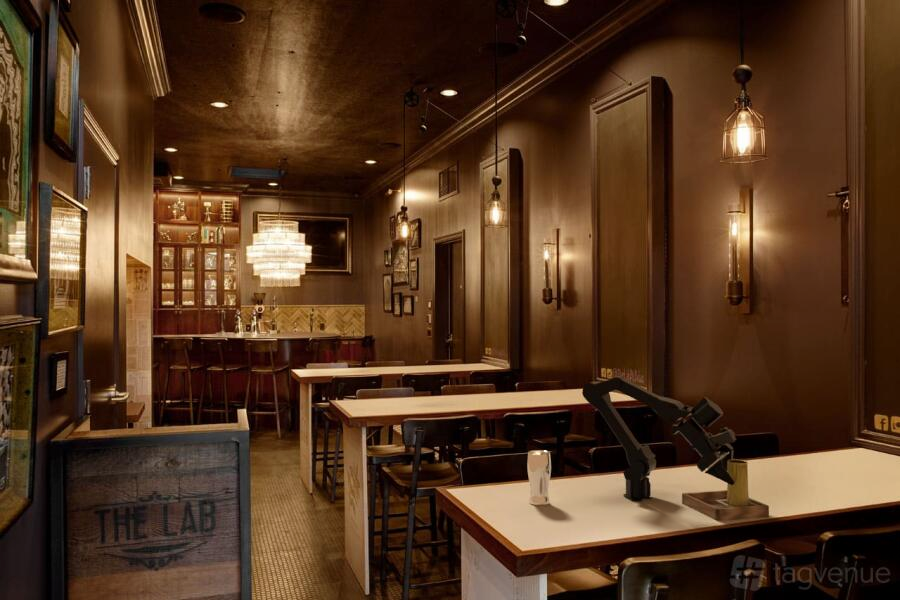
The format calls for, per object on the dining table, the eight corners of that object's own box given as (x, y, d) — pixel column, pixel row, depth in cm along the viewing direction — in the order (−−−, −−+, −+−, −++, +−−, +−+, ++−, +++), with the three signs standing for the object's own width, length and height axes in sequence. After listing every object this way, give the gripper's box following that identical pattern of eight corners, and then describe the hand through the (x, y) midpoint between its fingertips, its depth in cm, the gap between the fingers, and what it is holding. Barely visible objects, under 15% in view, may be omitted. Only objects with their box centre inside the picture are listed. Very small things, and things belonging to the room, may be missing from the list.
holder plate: (734, 518, 184) (734, 509, 184) (714, 508, 193) (714, 500, 193) (763, 515, 186) (763, 506, 186) (742, 506, 195) (742, 498, 195)
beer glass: (532, 507, 197) (532, 455, 197) (524, 500, 203) (523, 450, 204) (554, 505, 199) (554, 454, 199) (545, 498, 205) (545, 449, 206)
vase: (732, 507, 194) (731, 457, 194) (753, 512, 189) (753, 461, 189) (722, 512, 190) (721, 461, 190) (744, 516, 185) (743, 464, 185)
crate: (717, 522, 182) (717, 509, 182) (682, 505, 198) (682, 493, 198) (768, 518, 185) (768, 505, 185) (730, 501, 202) (730, 489, 202)
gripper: (708, 423, 185) (752, 469, 179) (725, 415, 200) (765, 457, 194) (679, 448, 190) (721, 494, 183) (698, 438, 205) (736, 480, 198)
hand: (737, 480), depth 190 cm, fingers open, 9 cm apart
